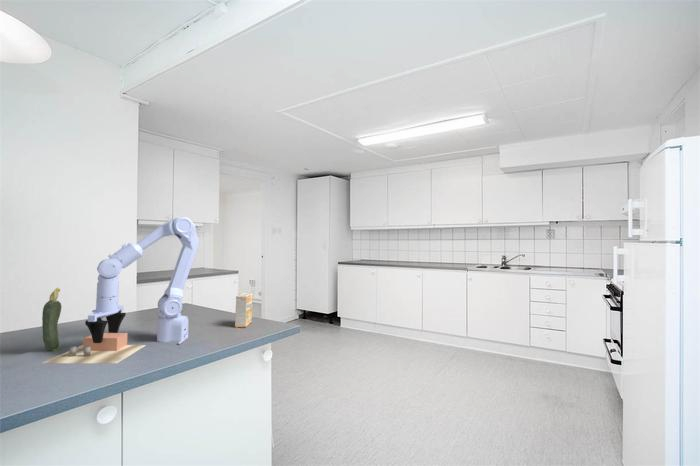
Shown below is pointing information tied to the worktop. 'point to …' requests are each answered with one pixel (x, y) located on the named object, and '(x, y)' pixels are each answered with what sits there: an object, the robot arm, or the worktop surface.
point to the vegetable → (51, 321)
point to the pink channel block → (107, 342)
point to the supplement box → (243, 309)
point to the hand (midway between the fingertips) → (105, 339)
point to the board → (94, 355)
